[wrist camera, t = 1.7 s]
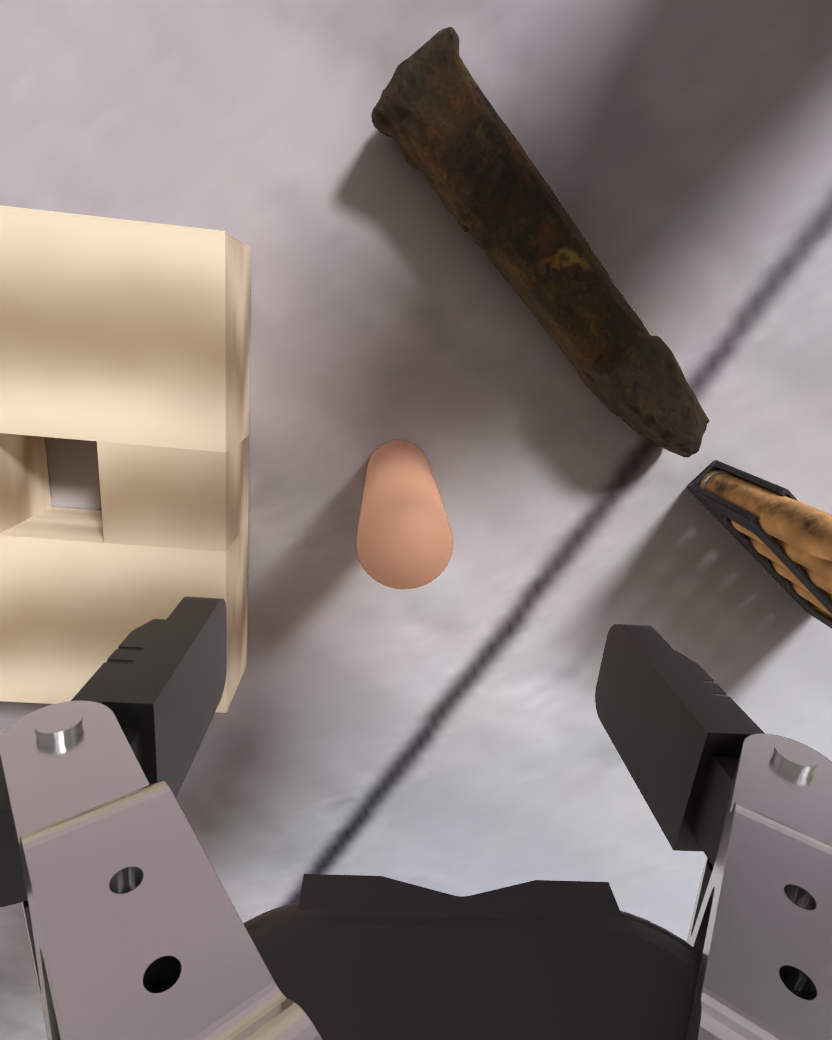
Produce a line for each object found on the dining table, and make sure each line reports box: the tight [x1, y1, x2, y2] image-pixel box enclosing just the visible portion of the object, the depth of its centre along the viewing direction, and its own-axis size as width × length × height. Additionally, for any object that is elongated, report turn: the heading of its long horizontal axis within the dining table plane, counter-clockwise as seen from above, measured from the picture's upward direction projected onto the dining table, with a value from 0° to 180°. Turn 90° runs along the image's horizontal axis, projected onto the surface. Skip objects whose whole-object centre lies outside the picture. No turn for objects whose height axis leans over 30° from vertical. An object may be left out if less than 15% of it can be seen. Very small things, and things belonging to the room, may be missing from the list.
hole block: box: [0, 205, 251, 713], centre depth 24 cm, size 20×14×4 cm
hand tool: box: [372, 27, 709, 457], centre depth 23 cm, size 19×4×5 cm, turn 39°
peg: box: [356, 440, 453, 589], centre depth 22 cm, size 3×3×10 cm
